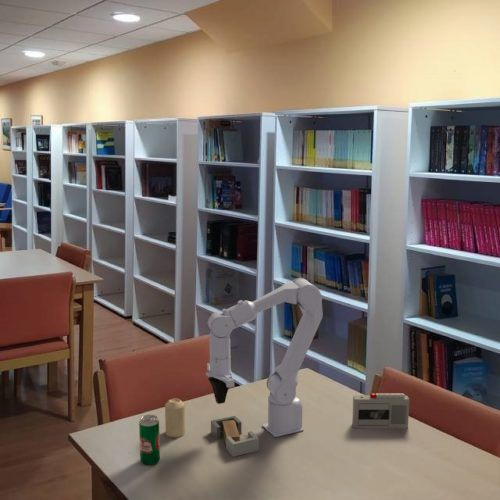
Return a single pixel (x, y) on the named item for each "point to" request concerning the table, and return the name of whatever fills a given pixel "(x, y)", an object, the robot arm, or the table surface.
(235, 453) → the cap
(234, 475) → the table surface
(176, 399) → the candle
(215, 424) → the fixed cap
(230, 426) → the brown wooden block
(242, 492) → the table surface
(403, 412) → the cassette player
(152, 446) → the soda can
